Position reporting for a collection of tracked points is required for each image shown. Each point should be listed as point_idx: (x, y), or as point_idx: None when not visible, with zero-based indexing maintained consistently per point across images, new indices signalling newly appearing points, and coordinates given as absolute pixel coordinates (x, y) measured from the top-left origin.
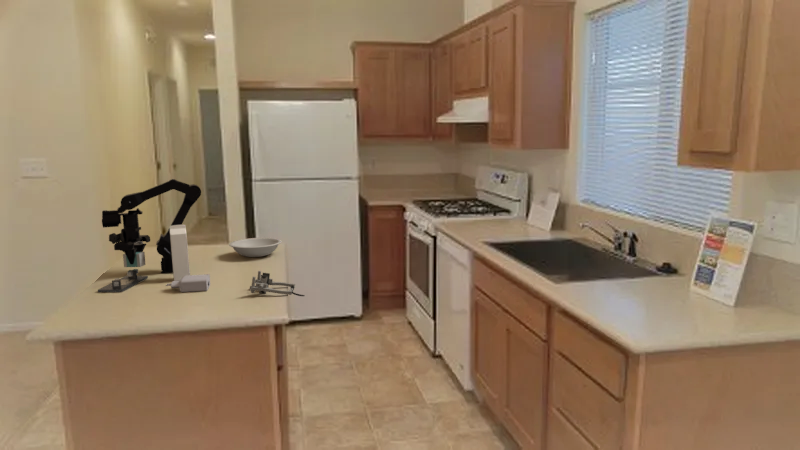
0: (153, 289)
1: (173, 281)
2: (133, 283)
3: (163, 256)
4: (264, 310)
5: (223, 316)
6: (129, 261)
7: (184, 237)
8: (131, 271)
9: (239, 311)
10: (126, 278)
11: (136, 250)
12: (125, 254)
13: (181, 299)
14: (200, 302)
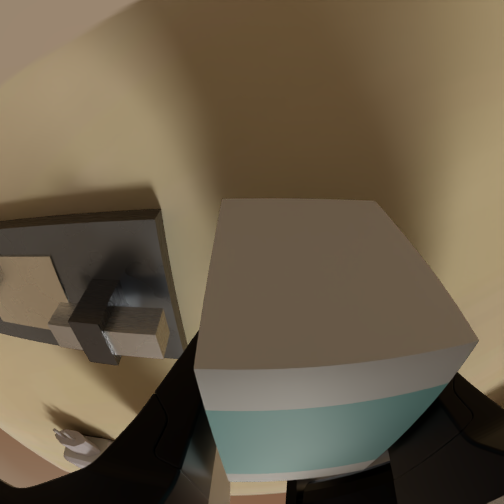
0: (51, 392)
1: (71, 446)
2: (37, 340)
3: (290, 482)
4: (70, 469)
5: (30, 447)
6: (192, 342)
7: None
8: (82, 342)
9: (52, 458)
10: (85, 268)
11: (425, 444)
12: (205, 402)
13: (39, 429)
14: (48, 442)
